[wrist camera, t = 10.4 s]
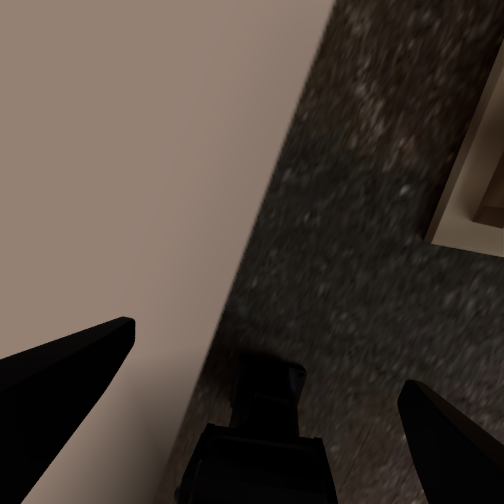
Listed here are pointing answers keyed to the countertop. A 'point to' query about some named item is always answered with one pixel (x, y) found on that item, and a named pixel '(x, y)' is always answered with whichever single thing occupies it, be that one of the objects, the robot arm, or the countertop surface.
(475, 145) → the socket board
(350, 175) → the countertop surface
